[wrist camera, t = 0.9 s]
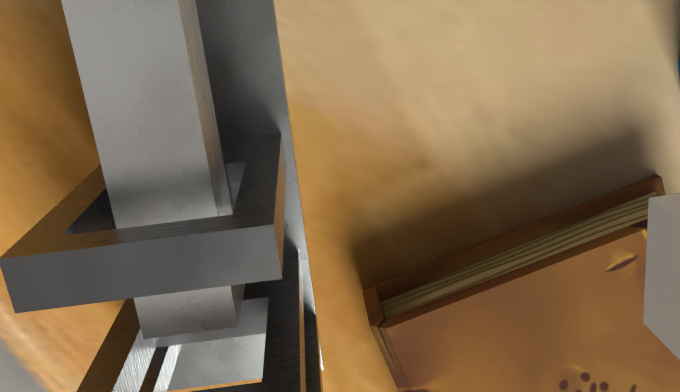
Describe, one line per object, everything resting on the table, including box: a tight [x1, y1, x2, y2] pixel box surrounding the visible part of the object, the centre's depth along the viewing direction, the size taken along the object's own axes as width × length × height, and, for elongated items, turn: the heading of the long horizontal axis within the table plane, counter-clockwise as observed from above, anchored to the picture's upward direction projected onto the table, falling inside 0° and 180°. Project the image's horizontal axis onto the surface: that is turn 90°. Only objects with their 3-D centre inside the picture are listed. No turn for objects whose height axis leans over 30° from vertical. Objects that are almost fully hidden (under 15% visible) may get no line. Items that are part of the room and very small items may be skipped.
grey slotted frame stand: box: [0, 0, 323, 392], centre depth 26 cm, size 36×10×15 cm, turn 6°
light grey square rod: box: [61, 0, 245, 339], centre depth 24 cm, size 26×4×4 cm, turn 6°
